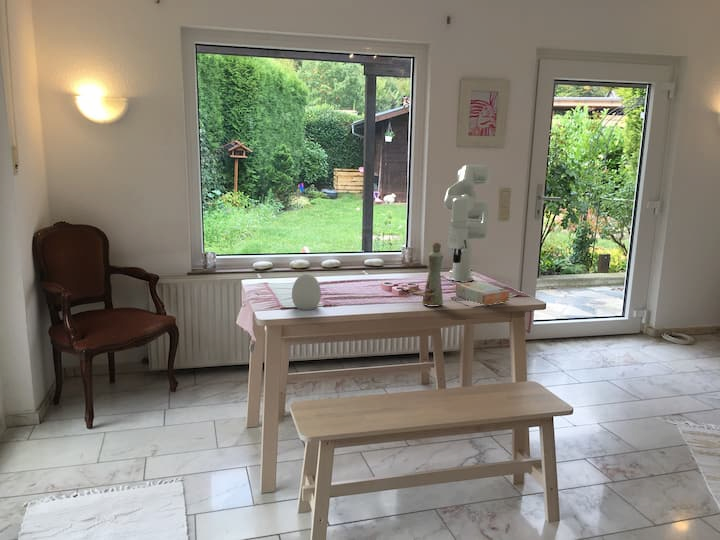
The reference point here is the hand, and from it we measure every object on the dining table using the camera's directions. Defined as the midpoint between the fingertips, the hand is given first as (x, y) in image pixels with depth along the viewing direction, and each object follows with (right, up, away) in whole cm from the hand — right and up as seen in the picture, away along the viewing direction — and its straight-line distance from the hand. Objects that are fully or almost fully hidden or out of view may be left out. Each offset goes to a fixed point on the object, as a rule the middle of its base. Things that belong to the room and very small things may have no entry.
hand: (456, 262), depth 284 cm
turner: (-19, -15, -1) cm, 24 cm away
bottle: (-14, -19, -21) cm, 32 cm away
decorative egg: (-69, -20, -30) cm, 78 cm away
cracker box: (+4, -12, -3) cm, 13 cm away
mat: (+7, -18, -12) cm, 23 cm away
